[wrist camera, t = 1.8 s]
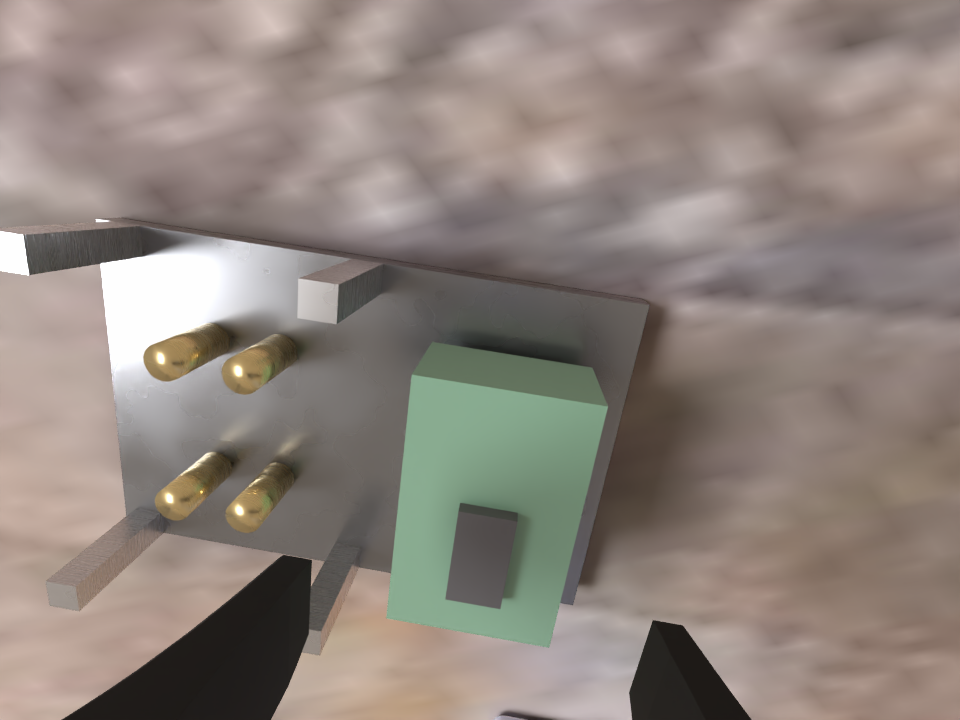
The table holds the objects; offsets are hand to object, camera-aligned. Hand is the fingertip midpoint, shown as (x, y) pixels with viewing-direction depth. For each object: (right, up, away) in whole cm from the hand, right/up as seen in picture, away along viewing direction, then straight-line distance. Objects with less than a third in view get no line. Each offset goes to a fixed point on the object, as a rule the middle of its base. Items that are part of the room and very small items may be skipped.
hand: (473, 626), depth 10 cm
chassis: (-4, +3, +8) cm, 10 cm away
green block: (+1, +2, +6) cm, 7 cm away
